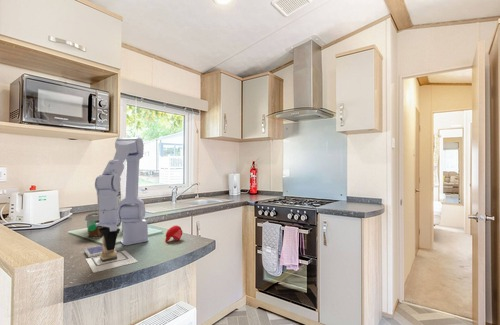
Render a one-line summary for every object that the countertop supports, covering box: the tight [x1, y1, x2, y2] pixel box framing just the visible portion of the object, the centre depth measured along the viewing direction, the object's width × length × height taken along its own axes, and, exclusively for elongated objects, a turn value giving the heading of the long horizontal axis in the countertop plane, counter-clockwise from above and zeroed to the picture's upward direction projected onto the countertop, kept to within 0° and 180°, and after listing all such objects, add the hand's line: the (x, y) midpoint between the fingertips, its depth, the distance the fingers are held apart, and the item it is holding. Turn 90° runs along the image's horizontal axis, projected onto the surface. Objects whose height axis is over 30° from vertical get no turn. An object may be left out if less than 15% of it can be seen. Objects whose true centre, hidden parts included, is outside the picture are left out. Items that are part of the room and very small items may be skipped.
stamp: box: [100, 236, 117, 262], centre depth 94 cm, size 4×4×8 cm
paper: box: [85, 250, 138, 273], centre depth 93 cm, size 13×16×1 cm
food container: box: [84, 212, 103, 238], centre depth 127 cm, size 12×6×10 cm, turn 40°
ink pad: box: [84, 245, 117, 258], centre depth 102 cm, size 9×9×1 cm
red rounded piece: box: [164, 225, 183, 243], centre depth 116 cm, size 8×6×6 cm
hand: (109, 248), depth 94 cm, fingers open, 3 cm apart
